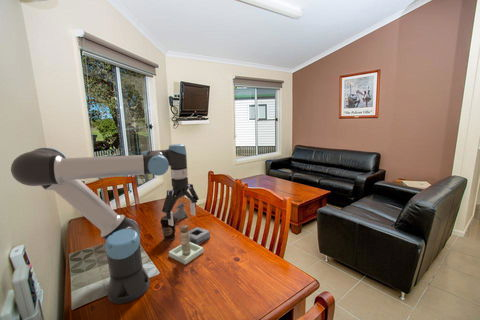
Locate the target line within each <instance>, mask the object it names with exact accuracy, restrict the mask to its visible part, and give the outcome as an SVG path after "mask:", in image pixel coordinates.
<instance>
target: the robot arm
mask: <svg viewBox="0 0 480 320" xmlns="http://www.w3.org/2000/svg"><path fill="white" fill-rule="evenodd" d="M186 148H187V147H186V145H184V144H183V143H175V144H170V145H168V149H167V148H166V149H160V150H159V149H158V150H157V149H156V150H146V151H145V150H144V151H142V152H140V154H136V155H134V154H133V155H111V156H109V155H108V156H91V157H90V156H87V157H66V155H65V154H64V153H63V152H61V150H58V149H55V148H51V147H40V148H35V149H34V150H31V151H27V152H25V153H22V154H20V155H18V156H17V157H16V158H15V159H14V160H12V161H13V162H11V166H10V172H11V176H12V177H13V179H14V180H15V181H17V182H18V183H20V184H22V185H24V186H29V187H42V188H43V189H44V190H45V191H54V192H55V193H56V194H57V195H59V196H60V197H61V198H62V199H64V200H65V202H66V203H68V204H69V205H71V206H72V208H74V209H75V210H76V211H77V212H79V214H80V215H82V216H83V217H85V219H87V220H88V221H89V222H90V223H91V224H92V225H94V226H95V227H97V229H99V231H100V237H101V238H102V239H104V240H105V242H104V243H105V244H104V249H105V254H106V258H107V259H106V260H107V264H108V271H109V277H110V279H109V281H108V287H107V298H108V300H109V301H110V302H111V303H112V304H116V305H121V304H127V303H132V302H134V301H135V300H137V299H139V298H141V296H143V295H144V294H145V293H146V292H147V291H148V289H149V287H150V278H149V275H148V274H147V272H146V270H145V268H144V267H143V260H142V259H143V258H142V252H141V230H140V227H139V225H138V222H136V221H135V220H133V219H132V218H128V217H127V216H126V215H124V214H118V213H117V212H116V211H115V210H114V209H112V207H110V206H109V204H107V203H106V202H105V201H104V200H103V199H101V198H100V196H98V195H97V193H95V192H94V191H93V190H92V189H91V188H89V186H88V185H86V184H85V183H84V182H83V181H82V180H86V179H87V180H88V179H100V178H113V177H114V178H115V177H126V176H139V175H154V176H163V175H165V174H166V173H167V171H168V170H169V167H170V177H171V180H170V181H171V186H172V189H171V190H169V189H167V190H166V196H165V199H164V202H163V205H162V209H161V212H162V213H165V216H167V219H168V224H169V225H171V226H174V224H173V213H174V212H173V211H172V210H173V209H174V207H175V204H176V202H177V200H179V199H180V198H182V197H186V198H187V199H188V200H190V202H189V207H190V208H189V209H190V210H189V211H190V215H192V216H196V208H197V202H198V201H199V199H200V198H199V196H198V194H197V192H196V190H195V189H194V185H193V184H192V183H189V177H188V160H187V158H188V157H187V149H186Z"/></svg>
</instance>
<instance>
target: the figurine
mask: <svg viewBox="0 0 480 320" xmlns="http://www.w3.org/2000/svg"><path fill="white" fill-rule="evenodd" d="M185 207H186V205H185V204H184V203H183V202H182V203H181V202H178V204H177V206H176V207H175V209H177V210H176V211H175V212H173V215H174V216H175V218H176V220H177V222H178V221H180V220H183V219H185V218H189V215H188V213H187V212H186V210H185Z"/></svg>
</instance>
